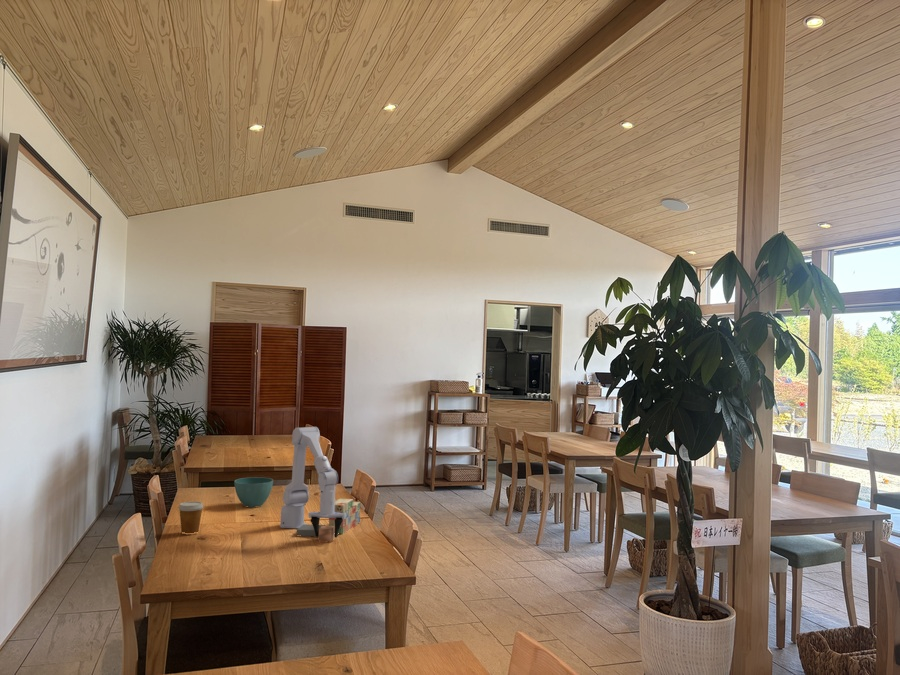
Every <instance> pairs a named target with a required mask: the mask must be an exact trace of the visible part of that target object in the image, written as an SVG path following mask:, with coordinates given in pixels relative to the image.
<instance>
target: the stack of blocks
mask: <svg viewBox="0 0 900 675" xmlns="http://www.w3.org/2000/svg"><path fill="white" fill-rule="evenodd" d="M335 512H339V513H346V518H345V519H343V521H342V523H341V525H340V528H339V531H338V533H339V534H338V535H341V534H343V533H344V534H346V533H347V532H346V531H348V530H349V529H350V530H352V529H353V528H354V527H356V526H357V524H358V523H359V522H360V523H361V502H360V501H354V499H353V498H352V499H351V498H338V499H336V500H335ZM335 519H336V518H328V526H335ZM360 523H359V524H360ZM359 524H358V525H359ZM355 525H356V526H355ZM352 527H353V528H352ZM351 528H352V529H351ZM350 530H349V531H350ZM349 531H348V532H349ZM345 532H346V533H345ZM334 533H335V532H334ZM344 534H343V535H344Z"/></svg>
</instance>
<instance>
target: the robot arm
mask: <svg viewBox="0 0 900 675" xmlns="http://www.w3.org/2000/svg"><path fill="white" fill-rule="evenodd" d="M320 432H321V431H320V430H319V428H318V427H317V426H309V427H304V426H303V427H295V428H294V429H293V431H292V436H291V437H292V438H291V439H292V440H291V444H292V445H293V446H294V447H293V459H292V461H293V462H292V472H291V474H292V475H291V482H290V483H288V484H287V485H285V487H284V491H283V494H282V501H283V503H284V504H283V505H282V506H281V511H280V526H279V528H281V529H284V528H285V529H298V528H299V527H301V526H302V525H303V524H307V525H308V523H307V522H305V506H306V505H307V503H308V502H309V500H310V493H309V486H308V485H307V484H305V483H304V482H305V481H304V480H305V469H306V457H307V456H306V455H307V454H306V453H307V447H308V449H309V451H310V452H311V454H312V456H313V457H314V460H313V465H314V468H315V470H316V472H317V475H318V478H317V481H318V490H319V491H320V497H319V498H320V499H319V500H320V502H319V503H320V504H319V505H320V506H319V511H309V512H308V518H309V519H310V523H311V525H313V527H314V530H315V535H316V537H315V538H319V537H318V536H319V525H320V520H321V519H329V518H336V519H335V534H334V538H337V537H338V536H339V534H338V531H339V528H340V525H341V523H342V521H343V519H345V518H346V513H339V512H335V501H336V485H338V483H339V474H338V472H337V470H335V469H334V468H332V466H331V463H330V461H329V459H328V456H325V455H324V453H323V450H322V447H321V444H320V437H321V434H320Z"/></svg>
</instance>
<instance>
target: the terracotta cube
mask: <svg viewBox="0 0 900 675" xmlns="http://www.w3.org/2000/svg"><path fill="white" fill-rule="evenodd" d="M334 532H335V526H329V525H325V526H322V527H321V528H319V537H318V542H319V541H332V540H333V539H334V540H335V534H334ZM334 540H333V541H334ZM333 541H332V542H333Z"/></svg>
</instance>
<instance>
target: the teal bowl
mask: <svg viewBox="0 0 900 675" xmlns="http://www.w3.org/2000/svg"><path fill="white" fill-rule="evenodd" d="M233 483H234V489H235V493H236V495H237V498H238V500H239V501H240V503H241V504H242V506H243V507H245V506H248V507H247V508H256V507H255V506H259V507H262V506H261V505H264V504H265V502H267V499H268V498H269V497H270V494H271V492H272V488H273V485H274V479H273V478H270V477H262V476H261V477H257V476H255V477H242V478H238V479H235V480H234V482H233Z"/></svg>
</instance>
